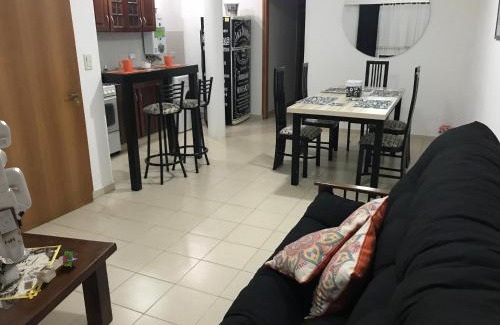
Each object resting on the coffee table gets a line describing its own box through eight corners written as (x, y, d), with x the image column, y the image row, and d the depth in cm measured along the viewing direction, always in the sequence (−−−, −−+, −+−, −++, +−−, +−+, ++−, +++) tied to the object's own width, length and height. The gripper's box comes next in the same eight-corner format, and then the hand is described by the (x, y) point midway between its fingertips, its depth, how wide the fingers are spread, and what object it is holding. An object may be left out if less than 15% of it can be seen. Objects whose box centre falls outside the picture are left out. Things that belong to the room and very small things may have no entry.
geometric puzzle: (69, 253, 182) (59, 246, 175) (82, 255, 180) (73, 248, 174) (63, 268, 178) (52, 262, 172) (76, 270, 177) (66, 264, 170)
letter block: (37, 281, 166) (35, 271, 165) (45, 274, 171) (43, 264, 169) (49, 283, 165) (46, 272, 164) (57, 275, 170) (54, 265, 168)
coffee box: (24, 245, 153) (14, 207, 147) (5, 251, 149) (-5, 213, 143) (17, 236, 159) (8, 200, 153) (-1, 242, 155) (-11, 205, 149)
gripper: (-32, 197, 138) (-19, 242, 144) (24, 185, 147) (34, 228, 153) (-32, 190, 144) (-19, 233, 150) (22, 179, 153) (32, 220, 159)
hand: (8, 230), depth 152 cm, fingers closed on coffee box, 7 cm apart
